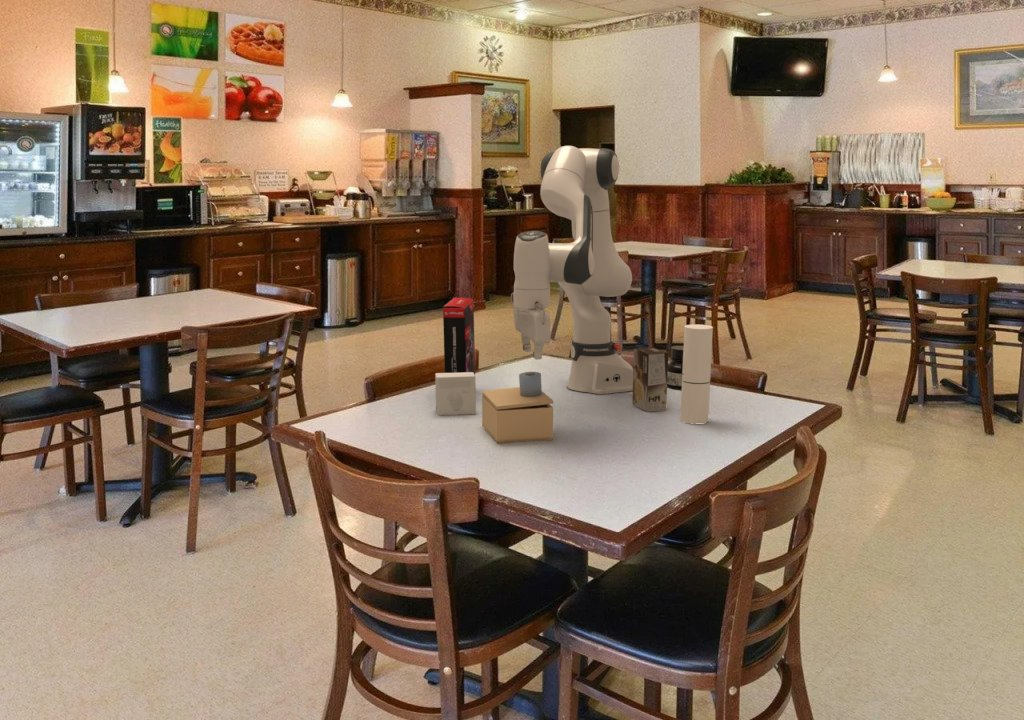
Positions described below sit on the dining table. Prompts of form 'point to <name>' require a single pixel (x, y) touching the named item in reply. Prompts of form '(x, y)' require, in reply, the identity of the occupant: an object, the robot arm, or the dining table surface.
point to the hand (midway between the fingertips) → (532, 355)
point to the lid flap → (514, 398)
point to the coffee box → (650, 379)
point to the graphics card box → (459, 336)
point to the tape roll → (530, 384)
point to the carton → (518, 422)
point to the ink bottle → (675, 368)
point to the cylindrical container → (696, 373)
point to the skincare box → (455, 393)
